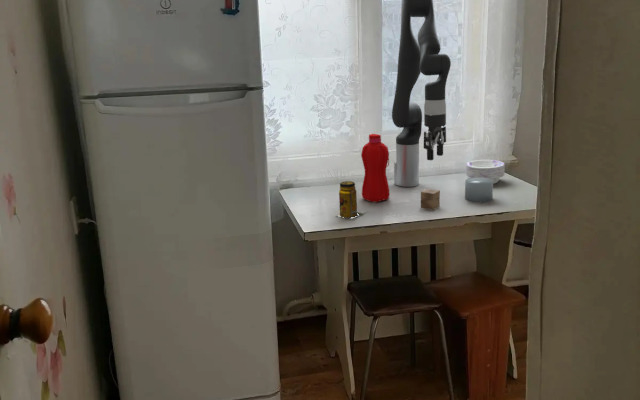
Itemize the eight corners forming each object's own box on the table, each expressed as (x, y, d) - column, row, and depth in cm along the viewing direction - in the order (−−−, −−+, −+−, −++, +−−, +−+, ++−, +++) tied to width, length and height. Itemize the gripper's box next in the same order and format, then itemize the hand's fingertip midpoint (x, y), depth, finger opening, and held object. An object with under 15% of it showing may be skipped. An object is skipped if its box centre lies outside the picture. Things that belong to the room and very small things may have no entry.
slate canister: (460, 200, 224) (461, 182, 222) (471, 193, 232) (471, 176, 230) (486, 204, 219) (487, 185, 217) (496, 197, 226) (497, 179, 224)
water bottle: (396, 198, 229) (396, 133, 222) (372, 204, 224) (371, 137, 217) (381, 193, 237) (381, 130, 230) (358, 198, 232) (357, 134, 224)
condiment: (334, 216, 211) (333, 183, 208) (349, 210, 218) (348, 178, 214) (351, 220, 207) (350, 186, 204) (365, 213, 213) (365, 181, 210)
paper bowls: (459, 179, 253) (459, 161, 251) (492, 176, 257) (492, 157, 254) (476, 188, 239) (477, 168, 237) (511, 184, 242) (512, 165, 240)
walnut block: (420, 208, 217) (420, 191, 216) (426, 204, 221) (427, 188, 219) (433, 210, 214) (433, 193, 213) (439, 206, 218) (439, 190, 217)
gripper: (433, 109, 220) (433, 153, 224) (416, 114, 209) (417, 160, 213) (453, 110, 216) (452, 154, 220) (436, 115, 205) (436, 162, 209)
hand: (435, 157), depth 217 cm, fingers open, 8 cm apart
